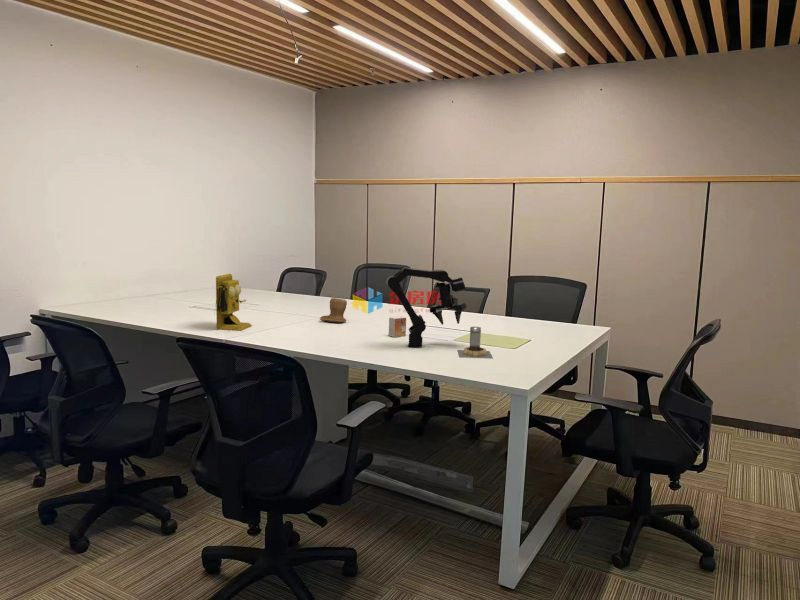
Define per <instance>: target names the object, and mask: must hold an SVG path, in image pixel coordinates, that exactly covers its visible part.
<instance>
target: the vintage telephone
mask: <svg viewBox="0 0 800 600" xmlns="http://www.w3.org/2000/svg"><path fill="white" fill-rule="evenodd" d="M241 293H242V287H241V286H240V280H239V279H233V275H232V274H231V273H227V274H221V275H217V276H216V277H215V312H216V331H228V332H229V331H235V332H236V331H238V332H239V331H240V332H242V331H244V330H246V329H249V328H250V327H252V326H253V325H252V324H251V323H250V322H241V321H240V319H239V318H238V317H237V316H236V315H234V314H233V313H236V312H239V311H240V304H242V303H246V302H247V299H243V300H240V295H241ZM214 316H215V313H214Z"/></svg>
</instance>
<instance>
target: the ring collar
mask: <svg viewBox="0 0 800 600" xmlns="http://www.w3.org/2000/svg"><path fill="white" fill-rule="evenodd" d="M469 349H470V346H466V347H464V348H463V350H464V355H467V356H473V357H481V356H485V355H486V351H487V349H486V348H484V347H481V346H480V351H471V350H469Z"/></svg>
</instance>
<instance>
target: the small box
mask: <svg viewBox="0 0 800 600" xmlns="http://www.w3.org/2000/svg"><path fill="white" fill-rule="evenodd" d="M406 331H407V317H404V316H393V317H392V316H389V317H388V337H391V336H392V338H398V337H399V336H402V337H406V334H407V332H406ZM399 338H400V337H399Z"/></svg>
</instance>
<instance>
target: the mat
mask: <svg viewBox="0 0 800 600" xmlns="http://www.w3.org/2000/svg"><path fill="white" fill-rule="evenodd" d="M456 350H457V355H458V358H465V359H466V358H467V359H489V360H490V359H492V360H493V359H494V357H493V356H492V354H491V352H490V350H486V355H485V356H481V357H473V356H467V355H464V349H456Z"/></svg>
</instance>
